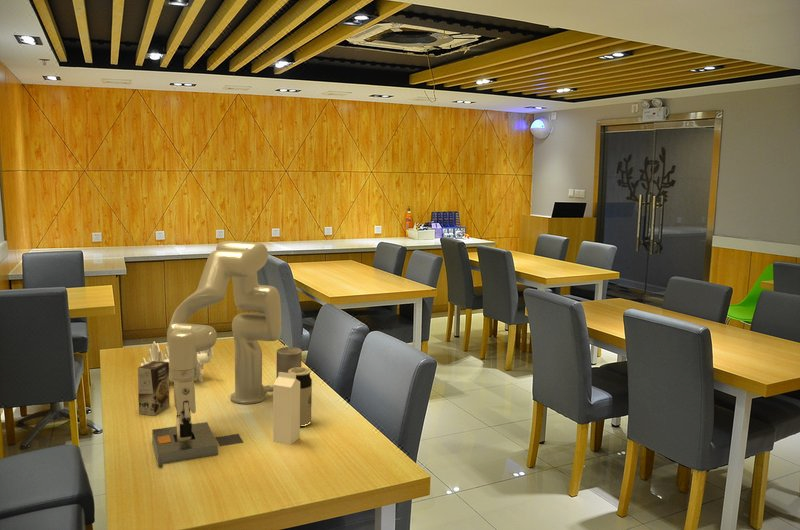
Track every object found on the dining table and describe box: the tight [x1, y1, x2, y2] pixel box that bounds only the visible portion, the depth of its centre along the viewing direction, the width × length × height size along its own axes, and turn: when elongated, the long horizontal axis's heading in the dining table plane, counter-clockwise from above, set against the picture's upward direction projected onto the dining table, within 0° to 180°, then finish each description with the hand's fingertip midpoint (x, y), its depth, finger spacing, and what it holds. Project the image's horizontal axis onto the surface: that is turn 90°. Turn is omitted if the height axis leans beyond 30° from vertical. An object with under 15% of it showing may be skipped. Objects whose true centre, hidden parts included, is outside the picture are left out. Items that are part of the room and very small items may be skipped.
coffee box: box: [137, 361, 171, 417], centre depth 213 cm, size 9×6×16 cm
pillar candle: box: [275, 346, 303, 379], centre depth 244 cm, size 10×10×15 cm
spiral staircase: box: [139, 341, 215, 383], centre depth 239 cm, size 18×18×25 cm
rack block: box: [151, 421, 219, 468], centre depth 184 cm, size 16×18×4 cm
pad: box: [214, 433, 244, 447], centre depth 190 cm, size 7×7×1 cm
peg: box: [176, 416, 192, 442], centre depth 183 cm, size 4×4×10 cm
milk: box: [272, 372, 301, 446], centre depth 190 cm, size 6×6×22 cm
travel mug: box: [288, 366, 313, 426], centre depth 205 cm, size 8×8×18 cm
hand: (184, 431), depth 183 cm, fingers open, 6 cm apart
